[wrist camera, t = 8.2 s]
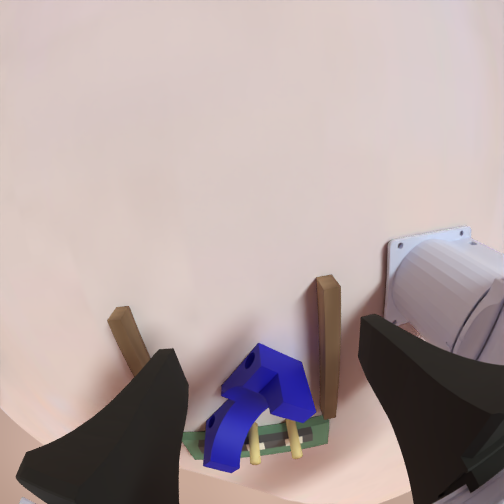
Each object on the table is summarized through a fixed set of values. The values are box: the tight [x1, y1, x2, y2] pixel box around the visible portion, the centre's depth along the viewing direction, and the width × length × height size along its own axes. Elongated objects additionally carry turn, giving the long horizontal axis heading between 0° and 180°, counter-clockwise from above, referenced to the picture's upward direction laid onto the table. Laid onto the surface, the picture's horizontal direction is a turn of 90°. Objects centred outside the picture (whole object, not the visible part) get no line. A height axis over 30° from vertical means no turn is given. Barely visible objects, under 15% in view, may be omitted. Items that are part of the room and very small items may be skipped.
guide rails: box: [107, 275, 341, 420], centre depth 21 cm, size 17×15×2 cm
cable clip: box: [203, 343, 316, 473], centre depth 21 cm, size 12×4×6 cm, turn 147°
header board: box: [182, 415, 329, 465], centre depth 24 cm, size 16×6×5 cm, turn 99°
